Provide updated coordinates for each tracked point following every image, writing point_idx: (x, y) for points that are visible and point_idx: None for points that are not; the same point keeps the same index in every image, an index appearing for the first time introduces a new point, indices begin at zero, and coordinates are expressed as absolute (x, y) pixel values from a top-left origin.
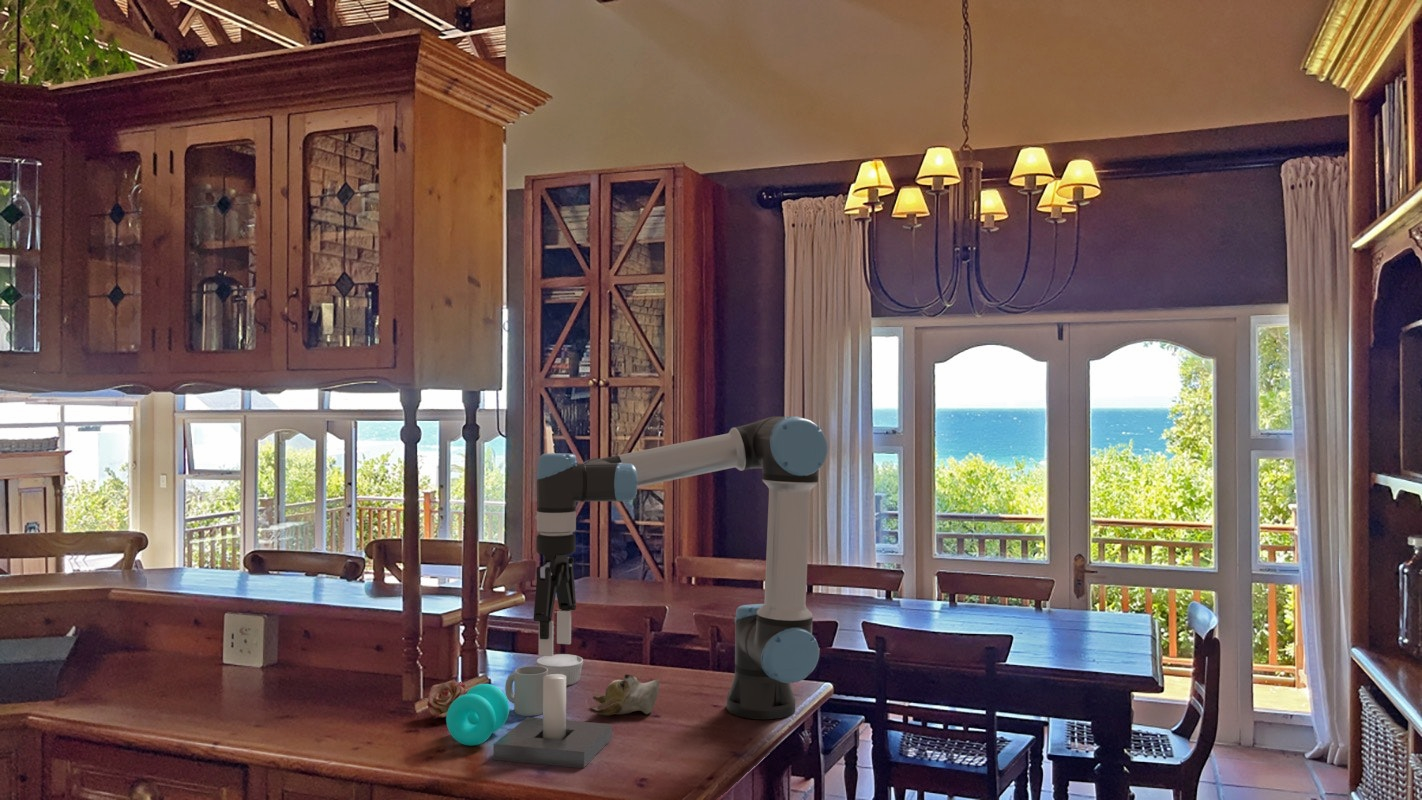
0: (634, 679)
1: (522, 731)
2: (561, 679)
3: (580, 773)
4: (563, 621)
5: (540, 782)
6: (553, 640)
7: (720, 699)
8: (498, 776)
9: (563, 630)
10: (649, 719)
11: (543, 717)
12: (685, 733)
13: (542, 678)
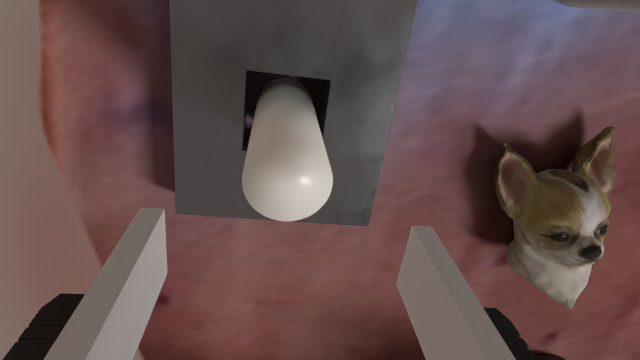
0: (574, 265)
1: (289, 21)
2: (260, 213)
3: (155, 195)
4: (448, 356)
5: (77, 130)
6: (142, 335)
7: (585, 338)
8: (74, 17)
9: (427, 308)
10: (483, 251)
11: (267, 103)
12: (400, 318)
13: (633, 1)
